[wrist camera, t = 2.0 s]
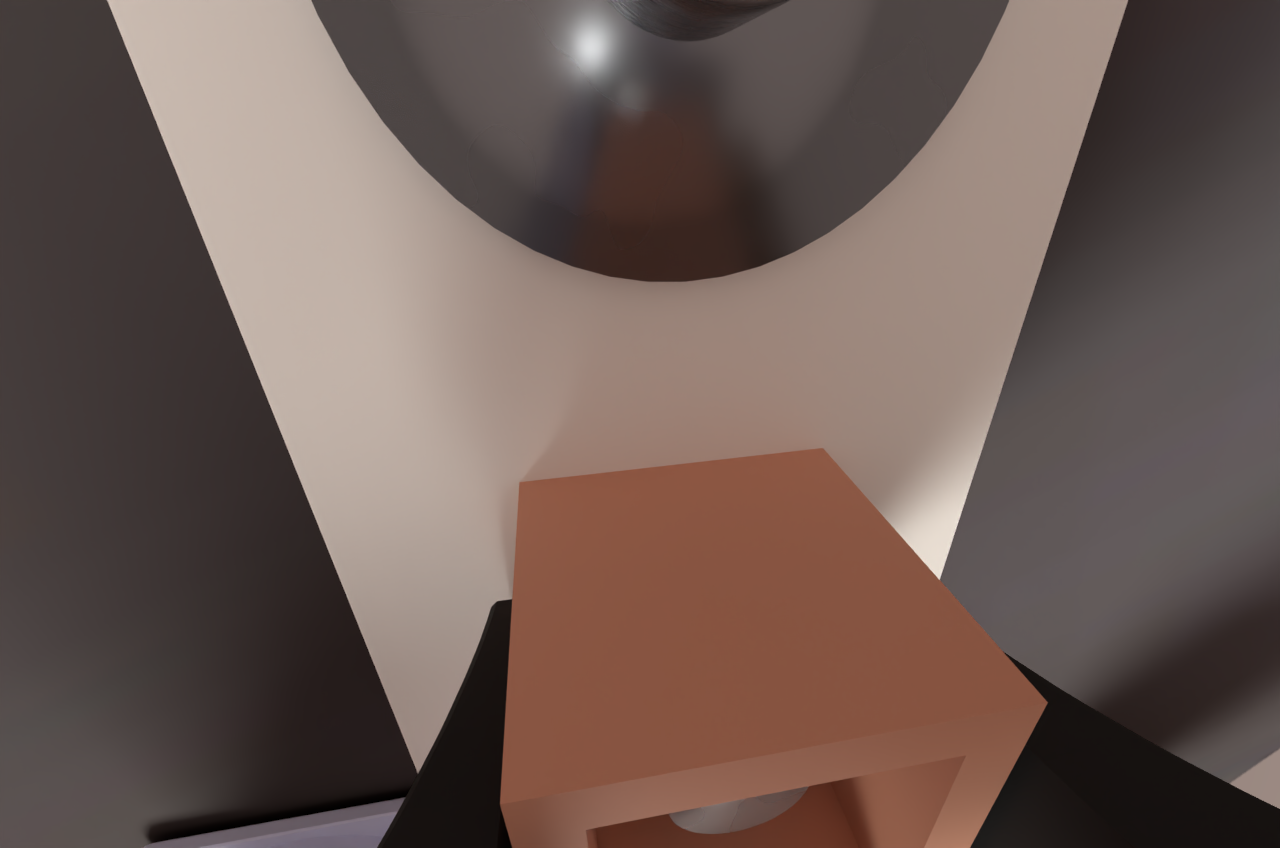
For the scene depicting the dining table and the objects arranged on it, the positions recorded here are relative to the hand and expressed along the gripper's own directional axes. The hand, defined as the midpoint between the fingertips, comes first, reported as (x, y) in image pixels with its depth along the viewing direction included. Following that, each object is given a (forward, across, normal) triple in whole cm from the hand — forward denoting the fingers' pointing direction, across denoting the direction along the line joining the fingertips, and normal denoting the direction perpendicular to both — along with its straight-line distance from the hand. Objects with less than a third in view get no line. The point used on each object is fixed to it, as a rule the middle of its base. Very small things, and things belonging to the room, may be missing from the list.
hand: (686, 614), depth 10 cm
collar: (+1, 0, 0) cm, 1 cm away
